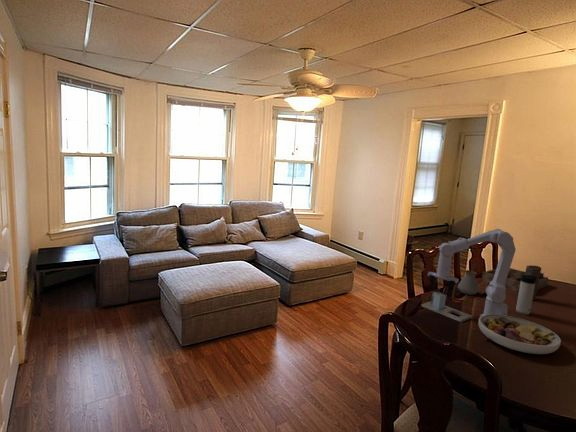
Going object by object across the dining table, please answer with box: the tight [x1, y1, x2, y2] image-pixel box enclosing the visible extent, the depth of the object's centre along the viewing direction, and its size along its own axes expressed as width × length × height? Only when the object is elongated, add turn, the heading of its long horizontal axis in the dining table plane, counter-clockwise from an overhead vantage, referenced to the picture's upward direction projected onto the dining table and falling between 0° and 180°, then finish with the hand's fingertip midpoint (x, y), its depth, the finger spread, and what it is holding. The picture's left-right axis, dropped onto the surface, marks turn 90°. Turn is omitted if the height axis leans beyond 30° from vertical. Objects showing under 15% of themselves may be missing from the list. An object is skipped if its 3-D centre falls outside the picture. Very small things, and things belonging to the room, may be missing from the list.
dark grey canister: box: [524, 264, 542, 301], centre depth 208 cm, size 8×7×20 cm
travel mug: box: [515, 275, 537, 316], centre depth 186 cm, size 6×7×20 cm
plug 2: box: [432, 292, 447, 310], centre depth 183 cm, size 4×4×8 cm
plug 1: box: [430, 291, 439, 301], centre depth 195 cm, size 8×4×4 cm, turn 151°
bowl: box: [477, 314, 562, 355], centre depth 155 cm, size 30×30×8 cm
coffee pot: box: [457, 263, 480, 296], centre depth 216 cm, size 21×12×15 cm, turn 144°
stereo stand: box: [481, 267, 549, 293], centre depth 235 cm, size 27×32×7 cm
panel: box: [421, 300, 472, 323], centre depth 180 cm, size 21×10×1 cm, turn 37°
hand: (440, 292), depth 182 cm, fingers open, 7 cm apart
